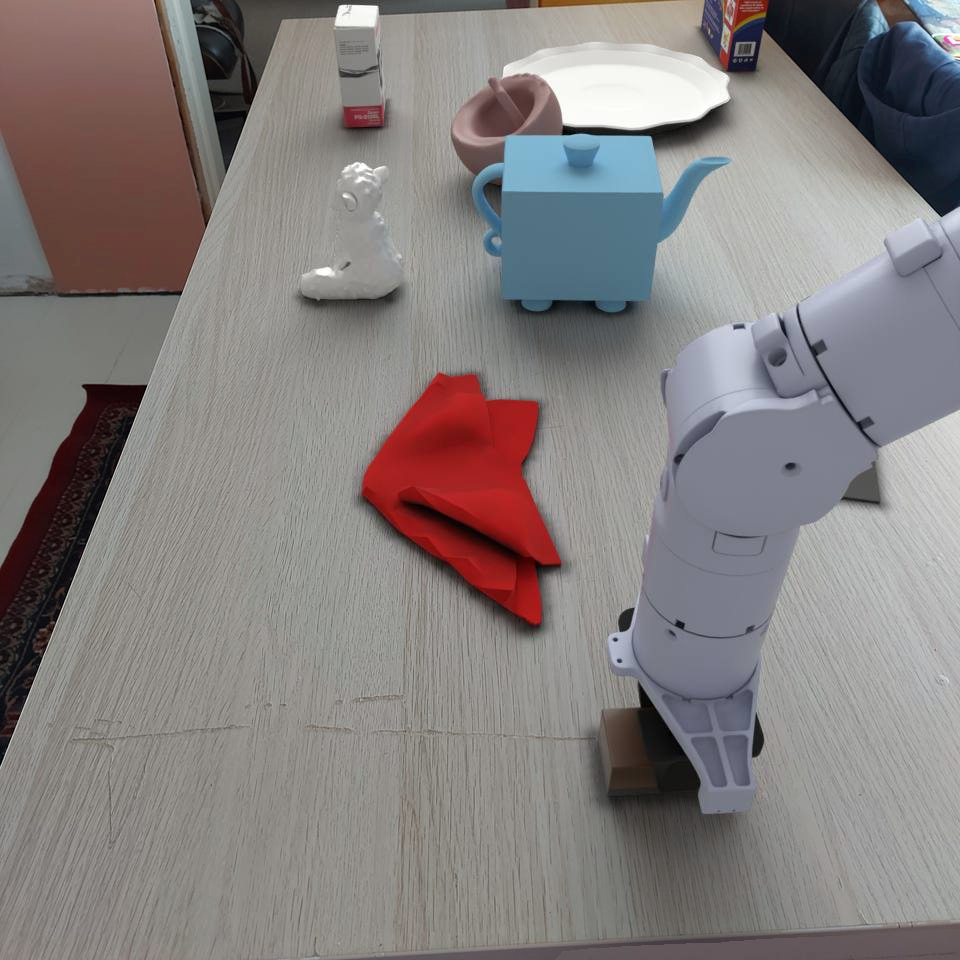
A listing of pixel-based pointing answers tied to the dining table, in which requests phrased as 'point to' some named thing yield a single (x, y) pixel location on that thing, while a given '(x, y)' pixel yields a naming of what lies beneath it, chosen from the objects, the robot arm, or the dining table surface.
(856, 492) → the dark grey flat slab
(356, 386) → the dining table surface
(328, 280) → the seated beast figurine
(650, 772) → the eraser
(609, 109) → the plate
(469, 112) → the mortar and pestle
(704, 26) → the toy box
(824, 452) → the robot arm
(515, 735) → the dining table surface
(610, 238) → the teapot
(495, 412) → the cloth
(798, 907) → the dining table surface
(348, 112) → the ink box
